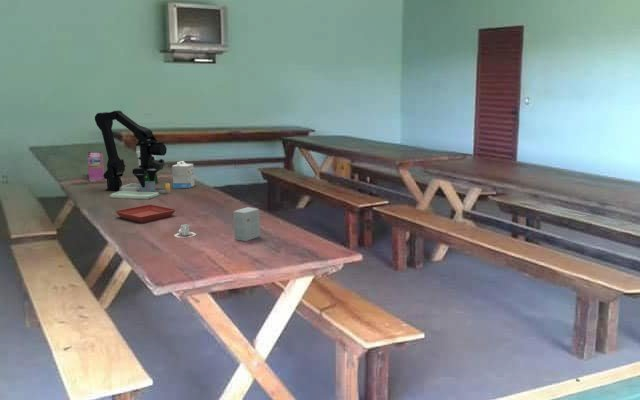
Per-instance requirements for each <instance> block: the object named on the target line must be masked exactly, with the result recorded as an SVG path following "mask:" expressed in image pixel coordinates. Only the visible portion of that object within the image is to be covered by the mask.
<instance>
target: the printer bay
mask: <svg viewBox="0 0 640 400" xmlns="http://www.w3.org/2000/svg"><path fill="white" fill-rule="evenodd" d="M119 191H133V192H138V191H140V187H139V183H128V184H124V185H122V186H121V187H120V190H119Z"/></svg>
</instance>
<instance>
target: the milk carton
mask: <svg viewBox="0 0 640 400" xmlns="http://www.w3.org/2000/svg"><path fill="white" fill-rule="evenodd" d="M135 153H136V157H137V161H138V167H139V166H140V165H141V160H140V159H139V157H140V149H139V150H136V152H135ZM152 156H154V159H155V160H157V155H152ZM147 174H148V173H147ZM145 181H150V179H149V176H148V175H147V176H146V177H145ZM154 181H155V185H156V184H158V183H159V180H158V172H157V173H156V176H155V180H154ZM139 183H140V182H139V181H138V184H139Z"/></svg>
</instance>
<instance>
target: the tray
mask: <svg viewBox="0 0 640 400" xmlns="http://www.w3.org/2000/svg"><path fill="white" fill-rule="evenodd" d="M159 196H160V193H159V192H140V191H137V192H133V191H120V190H117V191H116V192H113V193H110V194H108V199H126V200H128V199H129V200H130V199H131V200H147V201H149V200H151V199H155V198H157V197H159Z"/></svg>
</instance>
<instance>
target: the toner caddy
mask: <svg viewBox="0 0 640 400" xmlns="http://www.w3.org/2000/svg"><path fill="white" fill-rule="evenodd" d="M138 184H139V187H140V190H139V192H159V194H170V193H172V190H171V184H170V183H169V182H167V183H164V189H165V190H164V189H156V184H155V181H145V187H144V188H143V187H142V186H141V184H140V183H139V182H138Z"/></svg>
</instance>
